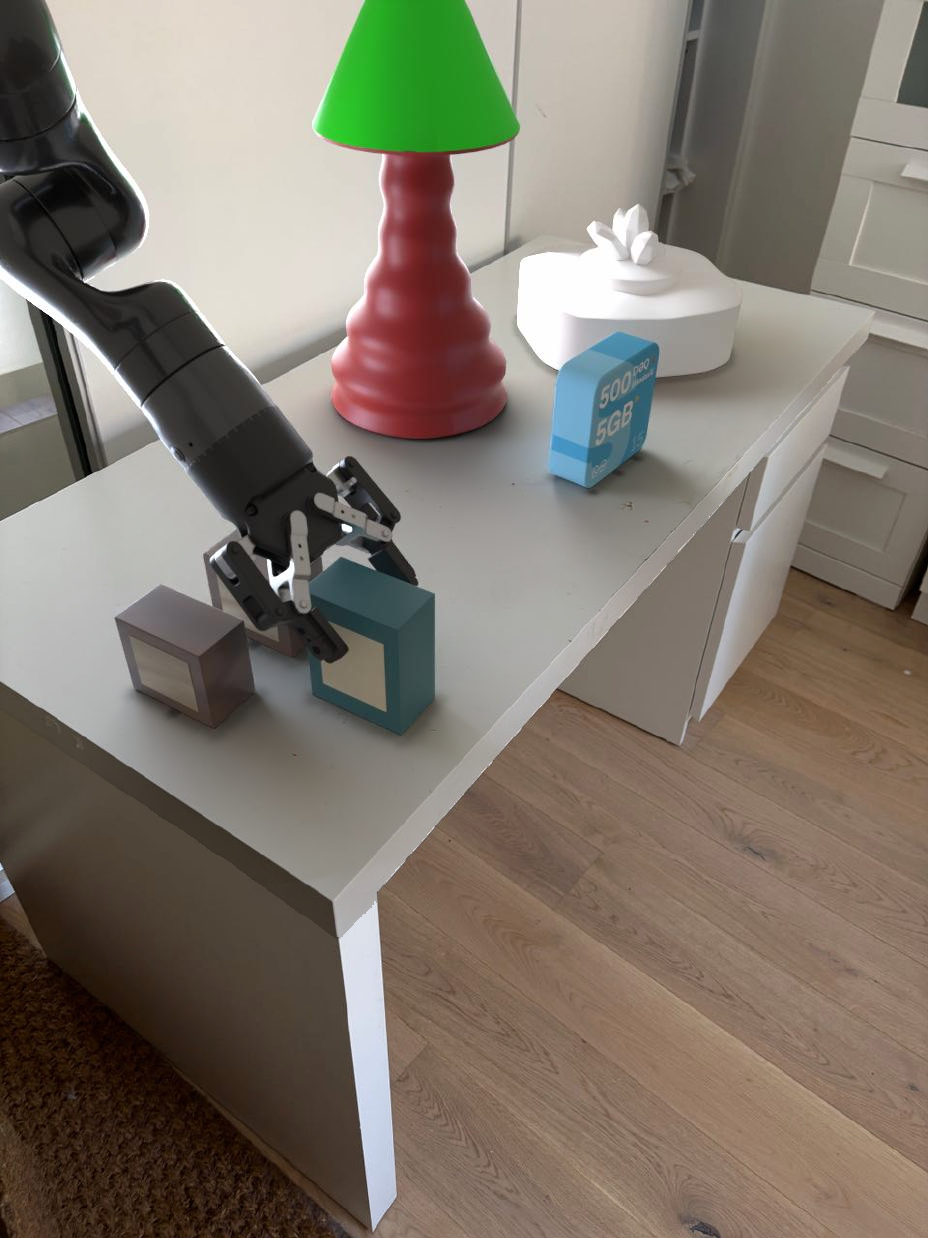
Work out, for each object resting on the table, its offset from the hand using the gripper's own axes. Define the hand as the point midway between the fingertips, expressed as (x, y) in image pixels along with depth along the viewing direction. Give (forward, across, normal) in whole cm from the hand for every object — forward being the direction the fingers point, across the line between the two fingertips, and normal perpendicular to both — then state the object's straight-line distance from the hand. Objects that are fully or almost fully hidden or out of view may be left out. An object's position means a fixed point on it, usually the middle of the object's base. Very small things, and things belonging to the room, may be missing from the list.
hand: (376, 623), depth 68 cm
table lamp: (-11, +42, +22) cm, 49 cm away
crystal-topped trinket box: (-3, +71, +13) cm, 72 cm away
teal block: (+5, 0, +6) cm, 7 cm away
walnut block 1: (-4, -7, +14) cm, 16 cm away
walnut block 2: (-4, +2, +14) cm, 15 cm away
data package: (+5, +40, +6) cm, 41 cm away
